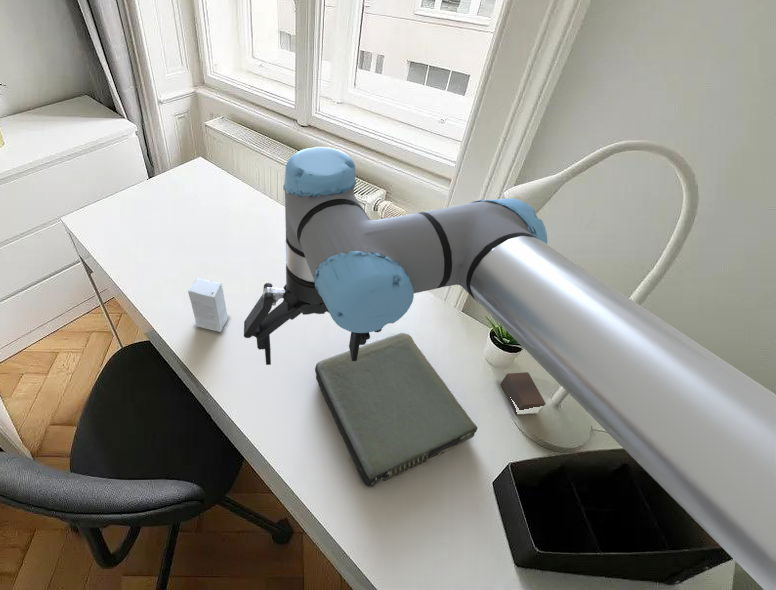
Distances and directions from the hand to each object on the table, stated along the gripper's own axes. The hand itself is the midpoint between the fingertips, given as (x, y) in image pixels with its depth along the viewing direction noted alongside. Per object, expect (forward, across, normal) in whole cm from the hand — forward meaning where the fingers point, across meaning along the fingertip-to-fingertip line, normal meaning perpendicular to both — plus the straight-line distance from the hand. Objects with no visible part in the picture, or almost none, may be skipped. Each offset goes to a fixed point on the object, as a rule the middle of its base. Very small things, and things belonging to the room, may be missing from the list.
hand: (310, 355), depth 65 cm
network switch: (+17, -15, +1) cm, 23 cm away
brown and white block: (+17, -40, 0) cm, 43 cm away
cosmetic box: (+17, +20, -20) cm, 33 cm away
